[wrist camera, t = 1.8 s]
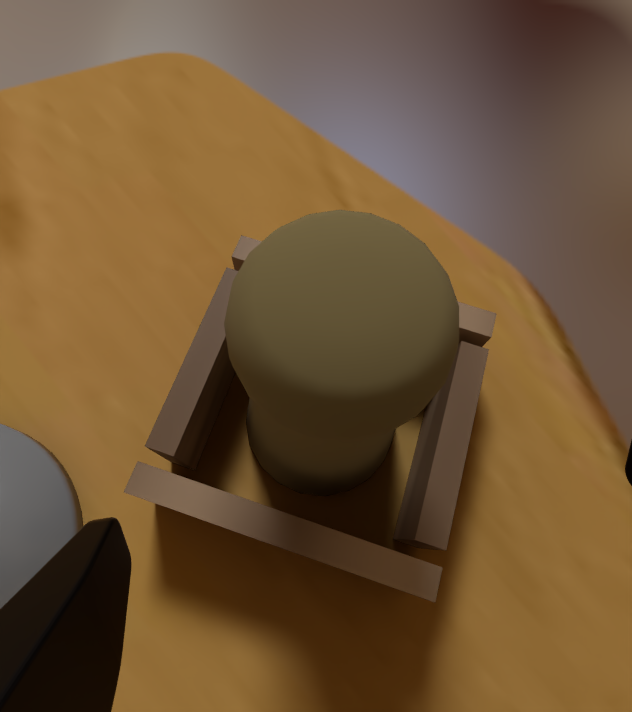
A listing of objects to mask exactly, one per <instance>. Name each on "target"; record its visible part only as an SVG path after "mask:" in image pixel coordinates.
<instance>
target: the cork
mask: <svg viewBox="0 0 632 712" xmlns="http://www.w3.org/2000/svg"><path fill="white" fill-rule="evenodd" d="M224 327H225V334H226V340H227V347H228V353H229V359H230V361H231V363H232V366H233V368H234V370H235V372H236V374H237V375H238V377H239V379H240V381H241V383H242V385H243V386H244V388H245V390H246V392H247V394H248V396H249V398H250V399H249V405H248V412H247V419H246V425H247V431H248V437H249V444H250V446H251V448H252V450H253V452H254V454H255V456H256V458H257V460H258V462H259V464H260V465H261V467H262V468H263V469H264V470H265V471H267V472H268V473H269V474H270V475H271V476H272V477H273V478H274V479H275V480H276V481H277V482H278V483H280V484H282V485H284V486H286V487H288V488H291V489H293V490H295V491H297V492H299V493H304V494H312V495H321V496H327V495H331V494H336V493H341V492H345V491H349V490H351V489H352V488H354V487H356V486H357V485H359V484H361V483H362V482H364V481H366V480H367V479H369V478H370V477H371V475H372V474H373V473H374V472H375V471H376V470H377V468H378V467H379V466H380V465H381V464H382V462H383V461H384V460H385V457H386V455H387V452H388V449H389V447H390V444H391V442H392V439H393V436H394V432H395V429H396V428H397V427H399V426H400V425H402V424H404V423H405V422H407V421H409V420H411V419H412V418H414V417H416V416H417V415H418V414H419V413H420V412H421V411H422V410H423V409H424V408H425V407H426V405H427V404H428V403H429V402H430V401H431V400H432V398H433V397H434V396H435V395H436V394H437V392H438V391H439V390H440V389H441V388H442V386H443V385H444V384H445V383H446V380H447V377H448V374H449V372H450V369H451V366H452V363H453V361H454V358H455V355H456V353H457V349H458V344H459V305H458V302H457V299H456V296H455V293H454V290H453V287H452V285H451V282H450V279H449V276H448V274H447V273H446V271H445V270H444V268H443V267H442V266H441V264H440V263H439V262H438V260H437V259H436V258H435V256H434V255H433V254H432V252H431V251H430V250H429V248H428V247H427V246H426V244H425V243H423V242H422V241H421V240H419V239H418V238H417V237H415V236H414V235H413V234H411V233H410V232H409V231H407V230H406V229H405V228H403V227H402V226H401V225H399V224H396V223H394V222H391V221H389V220H386V219H384V218H381V217H379V216H376V215H373V214H371V213H363V212H354V211H345V210H335V211H328V212H321V213H315V214H309V215H306V216H304V217H302V218H300V219H297V220H295V221H293V222H291V223H289V224H286V225H284V226H282V227H280V228H278V229H277V230H275V231H274V232H273V233H271V234H270V235H269V236H268V237H267V238H266V239H265V240H263V241H262V242H261V243H260V244H259V245H258V246H257V247H255V248H254V249H253V250H252V251H251V252H250V253H249V254H248V256H247V258H246V259H245V261H244V263H243V264H242V266H241V268H240V270H239V271H238V273H237V275H236V276H235V278H234V280H233V283H232V287H231V291H230V296H229V301H228V306H227V311H226V316H225V321H224Z"/></svg>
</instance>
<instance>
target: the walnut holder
mask: <svg viewBox="0 0 632 712" xmlns="http://www.w3.org/2000/svg"><path fill="white" fill-rule="evenodd" d="M260 243H261V241H258V240H255V239H252V238H248V237H245V236H242V235H241V237H240V240H239V242H238V244H237V246H236V248H235V250H234V253H233V255H232V260H233V265H234V269H235V270H233V269H230V268H226V270H225V272H224V274H223V277H222V279H221V281H220V283H219V285H218V288H217V290H216V292H215V294H214V296H213V298H212V301H211V303H210V305H209V307H208V309H207V311H206V314H205V316H204V318H203V320H202V322H201V325H200V327H199V329H198V331H197V333H196V335H195V338H194V340H193V342H192V344H191V346H190V349H189V351H188V353H187V355H186V357H185V359H184V362H183V364H182V366H181V368H180V370H179V373H178V375H177V377H176V379H175V381H174V383H173V386H172V388H171V390H170V392H169V394H168V396H167V399H166V401H165V403H164V405H163V407H162V410H161V412H160V414H159V416H158V418H157V420H156V423H155V425H154V427H153V429H152V431H151V434H150V436H149V438H148V440H147V442H146V444H145V447H147V448H149V449H150V450H152V451H154V452H155V453H157V454H159V455H160V456H162V457H164V458H165V459H167V460H169V461H170V462H173V463H175V464H178V465H181V466H184V467H187V468H190V469H193V470H195V469H196V466H197V464H198V462H199V459H200V457H201V454H202V452H203V449H204V447H205V445H206V442H207V440H208V437H209V435H210V432H211V430H212V428H213V425H214V423H215V420H216V418H217V416H218V413H219V411H220V408H221V406H222V403H223V401H224V399H225V396H226V394H227V391H228V389H229V386H230V384H231V382H232V379H233V377H234V374H235V370H234V368H233V366H232V363H231V361H230V359H229V353H228V347H227V340H226V334H225V327H224V321H225V316H226V311H227V306H228V301H229V296H230V291H231V287H232V283H233V280H234V278H235V276H236V275H237V273H238V271H239V270H240V268H241V266H242V264H243V263H244V261H245V259H246V258H247V256H248V254H249V253H250V252H251V251H252V250H253V249H254V248H255V247H257V246H258V245H259V244H260ZM458 305H459V344H458V349H457V353H456V355H455V358H454V361H453V363H452V366H451V369H450V372H449V374H448V377H447V380H446V383H445V384H444V385H443V386H442V388H441V389H440V390H439V391H438V392H437V394H436V395H435V396H434V397H433V398H432V400H431V401H430V402H429V403H428V404H427V405H426V409H425V413H424V417H423V421H422V425H421V429H420V433H419V437H418V441H417V445H416V449H415V453H414V457H413V461H412V465H411V469H410V473H409V477H408V481H407V485H406V489H405V493H404V497H403V501H402V505H401V509H400V513H399V517H398V521H397V525H396V529H395V533H394V537H393V539H394V540H397V541H400V542H403V543H406V544H409V545H412V546H414V547H417V548H424V549H435V550H445V551H446V549H447V545H448V540H449V535H450V531H451V526H452V521H453V516H454V512H455V507H456V502H457V498H458V493H459V488H460V483H461V479H462V474H463V469H464V464H465V460H466V455H467V450H468V446H469V441H470V436H471V431H472V427H473V422H474V417H475V412H476V408H477V403H478V398H479V394H480V389H481V384H482V379H483V375H484V370H485V365H486V360H487V356H488V351H489V349H486V348H483V347H482V346H483V345H484V344H485V343H486V342H487V341H488V340H489V339H490V338H491V337H492V332H493V327H494V323H495V318H496V313H493V312H490V311H487V310H483V309H480V308H477V307H473V306H470V305H467V304H464V303H460V302H458ZM124 492H125V493H128V494H130V495H133V496H136V497H139V498H142V499H144V500H147V501H150V502H153V503H156V504H159V505H161V506H164V507H167V508H170V509H173V510H175V511H178V512H181V513H184V514H187V515H190V516H192V517H195V518H198V519H201V520H204V521H206V522H209V523H212V524H215V525H218V526H221V527H223V528H226V529H229V530H232V531H235V532H237V533H240V534H243V535H246V536H249V537H252V538H254V539H257V540H260V541H263V542H266V543H268V544H271V545H274V546H277V547H280V548H283V549H285V550H288V551H291V552H294V553H297V554H299V555H302V556H305V557H308V558H311V559H314V560H316V561H319V562H322V563H325V564H328V565H330V566H333V567H336V568H339V569H342V570H344V571H347V572H350V573H353V574H356V575H359V576H361V577H364V578H367V579H370V580H373V581H375V582H378V583H381V584H384V585H387V586H390V587H392V588H395V589H398V590H401V591H404V592H406V593H409V594H412V595H415V596H418V597H421V598H423V599H426V600H429V601H432V602H435V601H436V597H437V592H438V587H439V583H440V578H441V573H442V568H443V567H440V566H437V565H434V564H431V563H428V562H425V561H422V560H420V559H417V558H414V557H411V556H408V555H405V554H402V553H400V552H397V551H394V550H391V549H388V548H385V547H382V546H379V545H377V544H374V543H371V542H368V541H365V540H362V539H359V538H357V537H354V536H351V535H348V534H345V533H342V532H339V531H337V530H334V529H331V528H328V527H325V526H322V525H319V524H316V523H314V522H311V521H308V520H305V519H302V518H299V517H296V516H294V515H291V514H288V513H285V512H282V511H279V510H276V509H273V508H271V507H268V506H265V505H262V504H259V503H256V502H253V501H251V500H248V499H245V498H242V497H239V496H236V495H233V494H231V493H228V492H225V491H222V490H219V489H216V488H213V487H210V486H208V485H205V484H202V483H199V482H196V481H193V480H190V479H188V478H185V477H182V476H179V475H176V474H173V473H170V472H167V471H165V470H162V469H159V468H156V467H153V466H150V465H147V464H145V463H142V462H139V461H138V462H137V464H136V466H135V468H134V471H133V473H132V475H131V477H130V479H129V481H128V484H127V486H126V488H125V490H124Z"/></svg>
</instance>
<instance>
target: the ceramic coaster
mask: <svg viewBox="0 0 632 712" xmlns="http://www.w3.org/2000/svg"><path fill="white" fill-rule="evenodd" d="M82 527H83V522H82V512H81V508H80V504H79V500H78V496H77V493H76V490H75V488H74V485H73V483H72V481H71V479H70V477H69V475H68V474H67V472H66V470H65V469H64V467H63V465H62V464H61V463H60V462H59V461H58V459H57V458H56V457H55V456H54V455H53V453H52V452H50V451H49V450H48V449H47V448H46V447H45V446H43V445H42V444H41V443H40V442H38V441H37V440H35V439H33V438H32V437H30V436H29V435H27V434H24V433H22V432H20V431H17V430H15V429H13V428H10V427H8V426H5V425H2V424H0V609H1V608H2V607H3V606H4V605H5V604H6V603H7V602H8V601H9V600H10V599H11V598H12V597H13V596H14V595H15V594H16V593H17V592H18V591H19V590H20V589H21V588H22V587H23V586H24V585H25V584H26V583H27V582H28V581H29V580H30V579H31V578H32V577H33V576H34V575H35V574H36V573H37V572H38V571H39V570H40V569H41V568H42V567H43V566H44V565H45V564H46V563H47V562H48V561H49V560H50V559H51V558H52V557H53V556H54V555H55V554H56V553H57V552H58V551H59V550H60V549H61V548H62V547H63V546H64V545H65V544H66V543H67V542H68V541H69V540H70V539H71V538H72V537H73V536H74V535H75V534H76V533H77V532H78V531H79V530H80V529H81V528H82Z"/></svg>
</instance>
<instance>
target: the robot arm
mask: <svg viewBox="0 0 632 712" xmlns="http://www.w3.org/2000/svg"><path fill="white" fill-rule="evenodd" d="M625 473H626V477H627V479H628V481H629V483H630V484H631V486H632V441H631V445H630V449H629V453H628V457H627V461H626V465H625ZM130 576H131V556H130V552H129V549H128V546H127V543H126V540H125V537H124V534H123V531H122V528H121V526H120V523H119V521H118V520H117V519H116V518H113V517H110V518H104V519H98V520H93V521H90V522H88V523H87V524H85V525H84V526H83V527H82V528H81V529H80V530H79V531H78V532H77V533H76V534H75V535H74V536H73V537H72V538H71V539H70V540H69V541H68V542H67V543H66V544H65V545H64V546H63V547H62V548H61V549H60V550H59V551H58V552H57V553H56V554H55V555H54V556H53V557H52V558H51V559H50V560H49V561H48V562H47V563H46V564H45V565H44V566H43V567H42V568H41V569H40V570H39V571H38V572H37V573H36V574H35V575H34V576H33V577H32V578H31V579H30V580H29V581H28V582H27V583H26V584H25V585H24V586H23V587H22V588H21V589H20V590H19V591H18V592H17V593H16V594H15V595H14V596H13V597H12V598H11V599H10V600H9V601H8V602H7V603H6V604H5V605H4V606H3V607H2V608H1V609H0V712H111V710H112V705H113V701H114V696H115V692H116V687H117V682H118V677H119V671H120V666H121V658H122V651H123V642H124V632H125V623H126V613H127V604H128V595H129V585H130Z"/></svg>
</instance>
